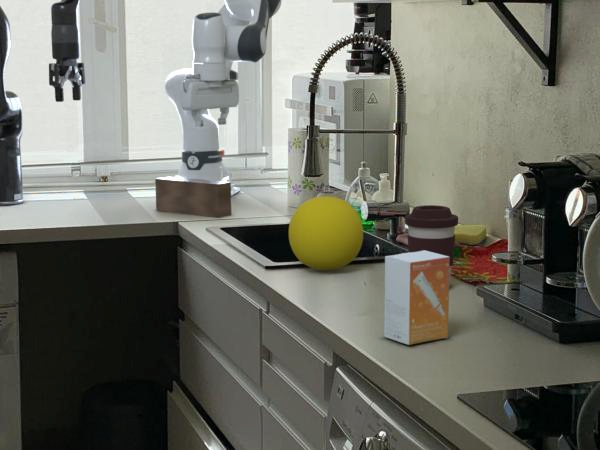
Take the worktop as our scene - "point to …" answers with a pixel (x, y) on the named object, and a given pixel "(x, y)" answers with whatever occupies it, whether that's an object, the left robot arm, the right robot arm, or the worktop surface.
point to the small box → (416, 297)
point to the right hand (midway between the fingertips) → (210, 125)
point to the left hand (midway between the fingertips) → (68, 101)
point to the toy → (325, 233)
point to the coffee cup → (432, 230)
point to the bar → (193, 196)
